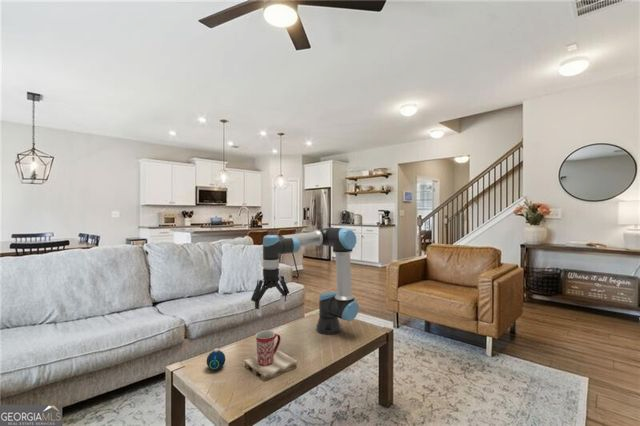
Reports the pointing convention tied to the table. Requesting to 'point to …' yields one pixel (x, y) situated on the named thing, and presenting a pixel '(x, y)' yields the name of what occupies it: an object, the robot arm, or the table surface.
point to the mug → (266, 347)
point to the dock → (276, 368)
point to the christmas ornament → (215, 359)
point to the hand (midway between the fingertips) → (270, 312)
